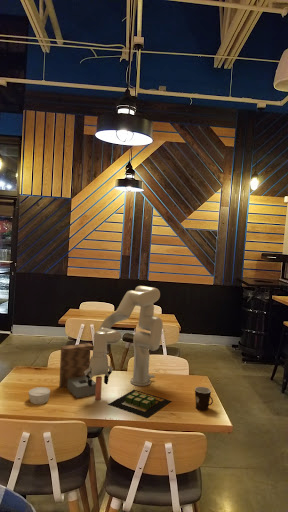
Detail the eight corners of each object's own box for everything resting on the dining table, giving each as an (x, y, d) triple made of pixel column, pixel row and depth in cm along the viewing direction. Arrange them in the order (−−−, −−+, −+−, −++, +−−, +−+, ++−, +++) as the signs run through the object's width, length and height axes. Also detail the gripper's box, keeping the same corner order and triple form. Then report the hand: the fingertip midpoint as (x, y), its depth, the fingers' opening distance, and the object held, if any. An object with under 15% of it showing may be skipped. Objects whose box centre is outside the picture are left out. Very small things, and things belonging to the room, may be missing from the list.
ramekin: (30, 406, 194) (30, 396, 194) (26, 398, 204) (26, 388, 204) (52, 403, 199) (52, 393, 199) (47, 395, 209) (47, 385, 209)
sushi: (171, 402, 208) (171, 395, 208) (147, 419, 187) (147, 412, 187) (134, 391, 222) (134, 384, 222) (107, 405, 201) (108, 398, 200)
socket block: (86, 385, 225) (86, 375, 225) (96, 394, 213) (97, 383, 213) (67, 388, 218) (67, 378, 218) (76, 398, 207) (77, 387, 206)
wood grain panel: (87, 381, 231) (89, 343, 230) (91, 385, 226) (93, 345, 225) (59, 386, 221) (60, 346, 220) (63, 390, 216) (64, 349, 215)
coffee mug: (192, 404, 205) (193, 386, 205) (207, 404, 206) (208, 386, 206) (197, 414, 194) (198, 395, 193) (213, 414, 195) (214, 395, 194)
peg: (99, 397, 209) (100, 375, 209) (101, 399, 207) (102, 377, 206) (94, 398, 208) (95, 376, 207) (96, 400, 205) (97, 378, 204)
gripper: (110, 350, 214) (108, 380, 214) (82, 353, 204) (80, 384, 205) (116, 354, 207) (115, 384, 208) (88, 357, 198) (86, 389, 199)
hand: (97, 384), depth 206 cm, fingers open, 9 cm apart
